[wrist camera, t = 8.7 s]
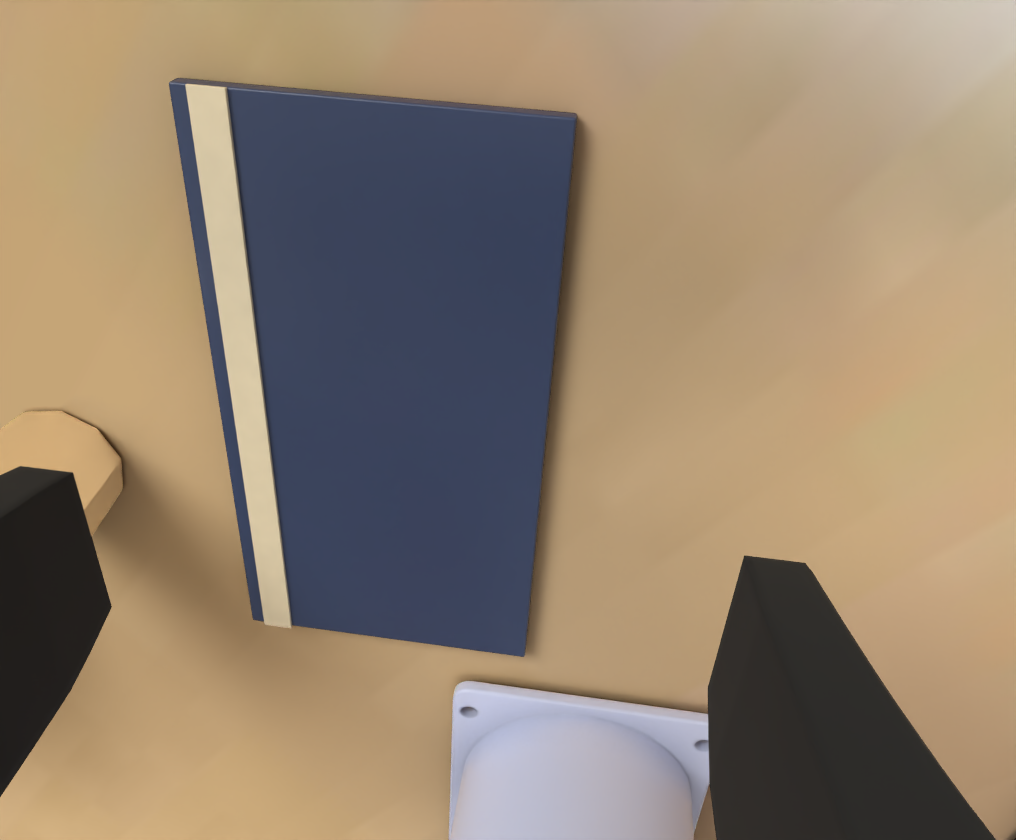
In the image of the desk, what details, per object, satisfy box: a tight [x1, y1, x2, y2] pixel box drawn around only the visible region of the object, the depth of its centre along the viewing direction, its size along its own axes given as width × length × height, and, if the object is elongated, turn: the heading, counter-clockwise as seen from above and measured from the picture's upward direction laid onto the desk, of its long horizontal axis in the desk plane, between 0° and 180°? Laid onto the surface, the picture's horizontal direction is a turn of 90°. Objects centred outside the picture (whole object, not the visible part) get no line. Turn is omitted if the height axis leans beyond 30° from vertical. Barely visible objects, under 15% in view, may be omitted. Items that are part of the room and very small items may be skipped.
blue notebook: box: [169, 78, 577, 657], centre depth 21 cm, size 15×8×1 cm, turn 177°
